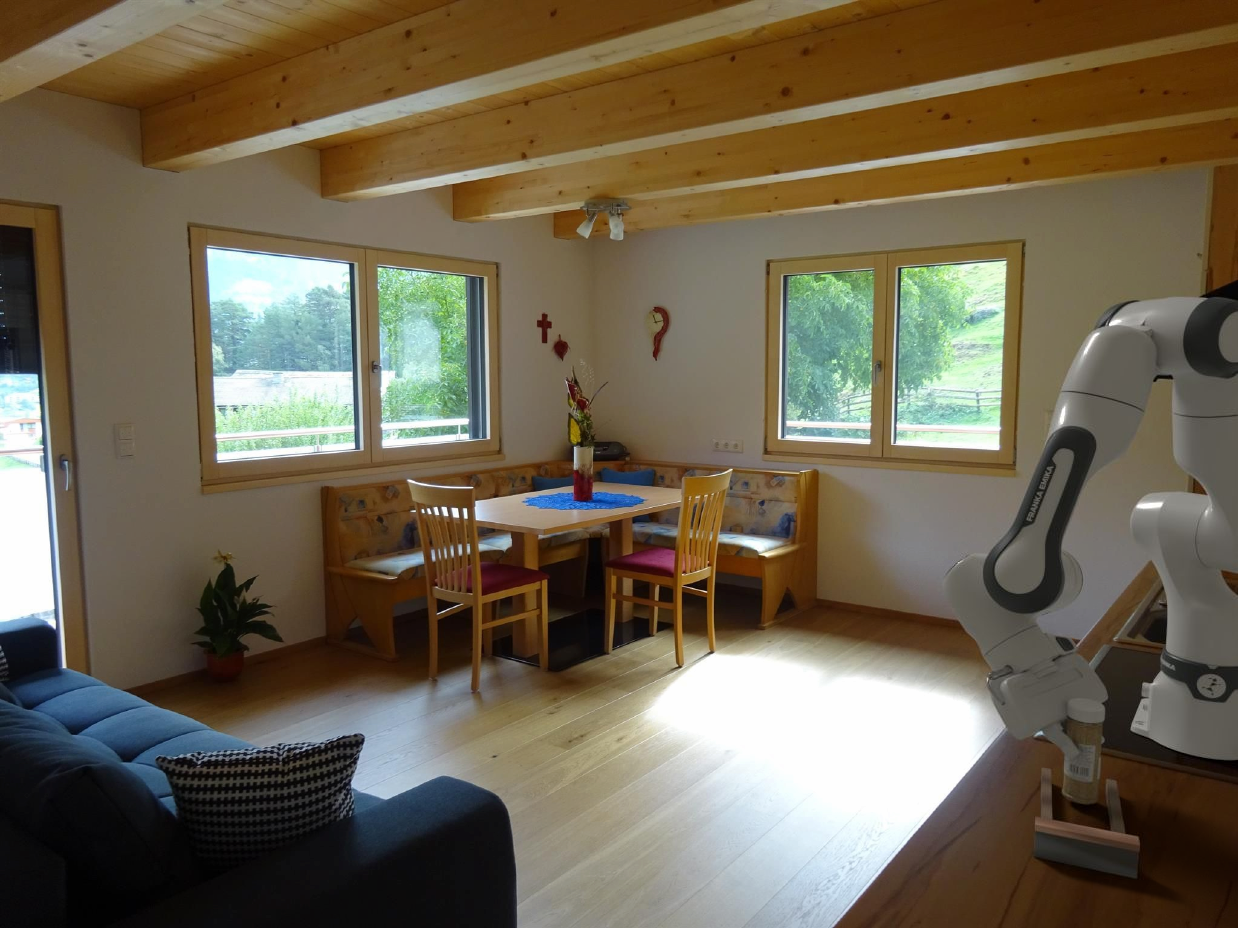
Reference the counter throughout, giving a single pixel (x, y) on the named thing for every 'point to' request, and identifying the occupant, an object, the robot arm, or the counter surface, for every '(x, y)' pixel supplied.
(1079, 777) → the sprinkles bottle
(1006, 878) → the counter surface
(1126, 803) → the counter surface
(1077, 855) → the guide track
